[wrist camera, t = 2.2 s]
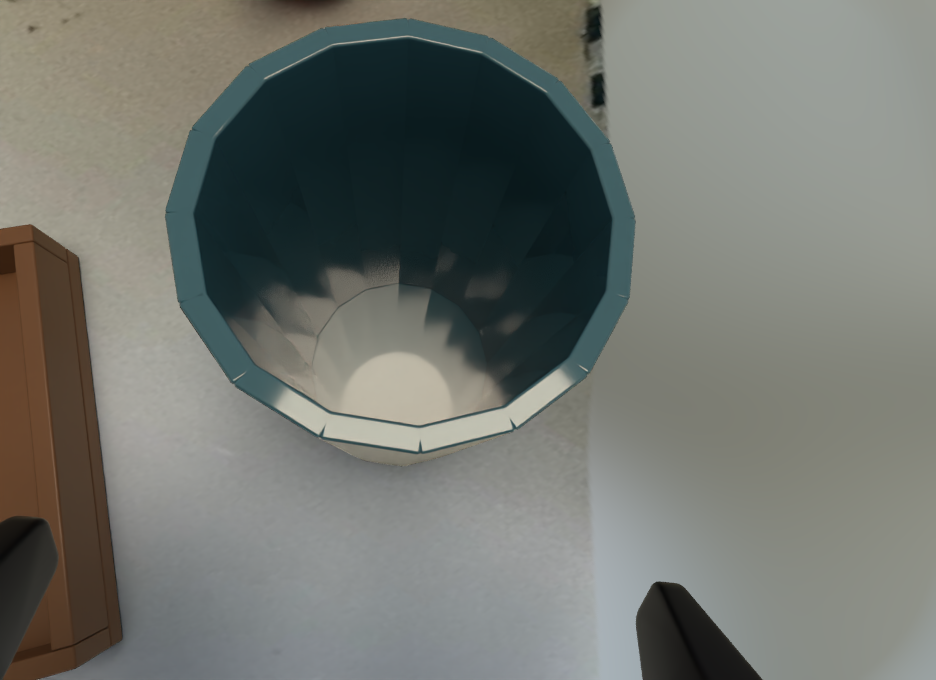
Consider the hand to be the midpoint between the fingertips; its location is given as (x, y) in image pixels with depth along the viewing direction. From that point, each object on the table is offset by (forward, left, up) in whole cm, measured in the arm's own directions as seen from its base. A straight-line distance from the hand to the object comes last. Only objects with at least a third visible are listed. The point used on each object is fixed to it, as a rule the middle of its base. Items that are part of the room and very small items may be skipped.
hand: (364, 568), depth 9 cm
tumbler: (+5, -2, -12) cm, 13 cm away
